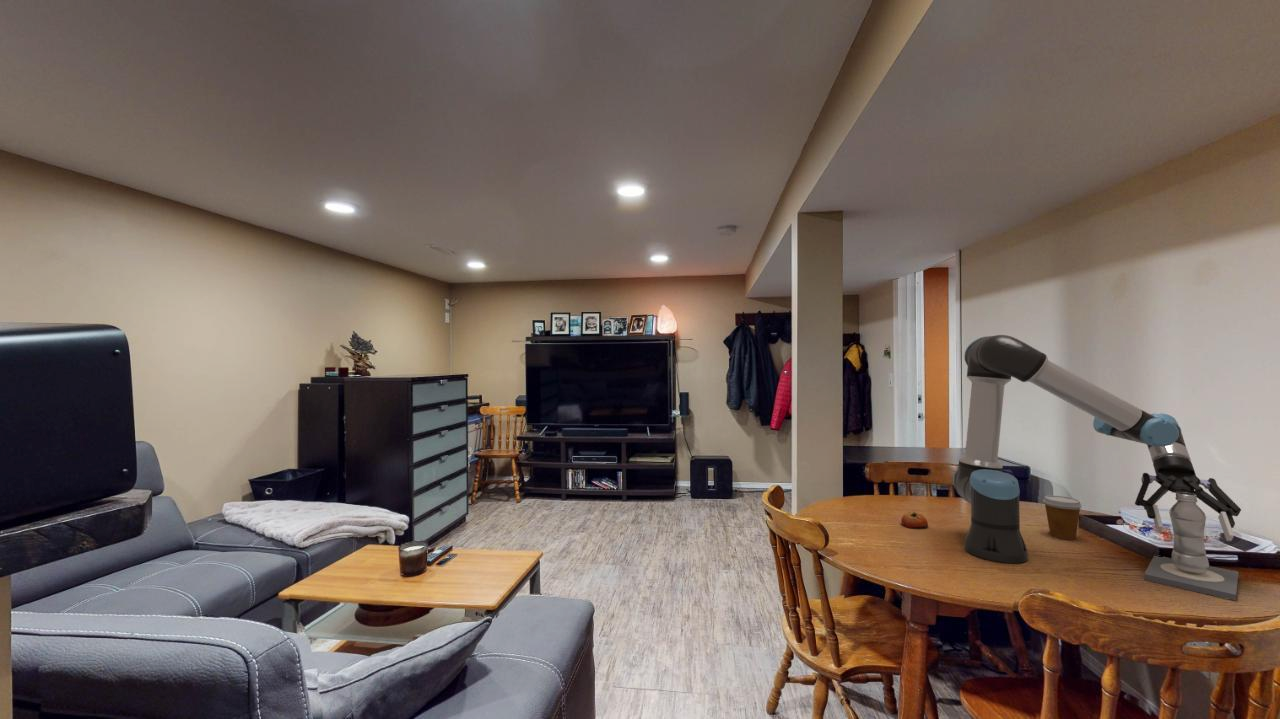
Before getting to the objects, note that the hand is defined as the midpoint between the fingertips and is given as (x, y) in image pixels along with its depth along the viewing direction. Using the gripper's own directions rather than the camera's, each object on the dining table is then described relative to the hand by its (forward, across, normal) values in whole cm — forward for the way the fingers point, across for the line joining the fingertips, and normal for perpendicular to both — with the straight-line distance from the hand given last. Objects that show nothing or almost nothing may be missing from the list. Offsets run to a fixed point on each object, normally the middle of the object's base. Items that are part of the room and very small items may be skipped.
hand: (1194, 533), depth 125 cm
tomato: (0, +64, -18) cm, 66 cm away
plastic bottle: (+6, 0, -10) cm, 11 cm away
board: (+7, 0, -11) cm, 13 cm away
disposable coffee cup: (-10, +22, -27) cm, 37 cm away
